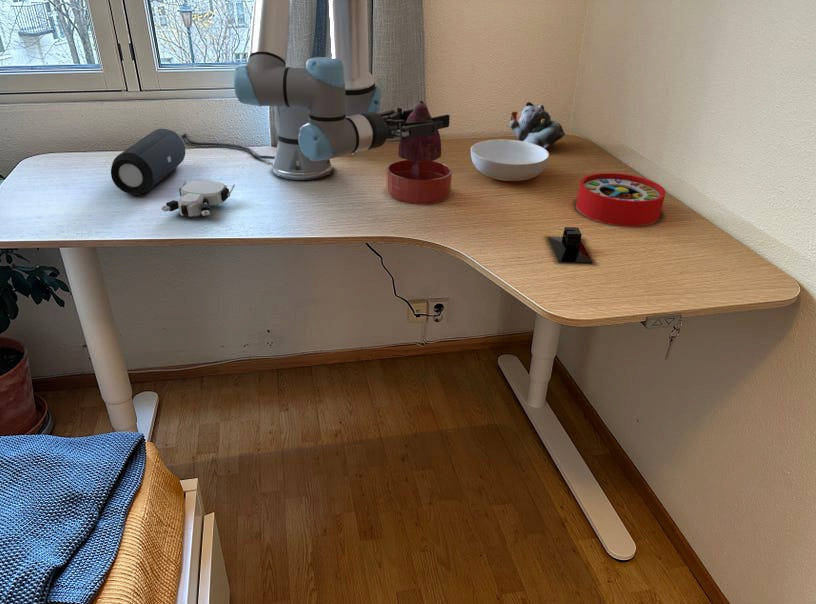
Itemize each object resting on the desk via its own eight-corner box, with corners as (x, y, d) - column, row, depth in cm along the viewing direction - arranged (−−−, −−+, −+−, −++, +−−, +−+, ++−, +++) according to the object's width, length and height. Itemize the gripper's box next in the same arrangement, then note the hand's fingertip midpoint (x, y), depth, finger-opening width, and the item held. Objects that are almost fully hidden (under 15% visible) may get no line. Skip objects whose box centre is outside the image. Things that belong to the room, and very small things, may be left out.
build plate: (547, 238, 145) (551, 218, 142) (580, 239, 145) (584, 219, 142) (558, 262, 135) (562, 241, 132) (593, 263, 135) (598, 242, 132)
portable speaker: (153, 199, 155) (144, 157, 149) (112, 196, 155) (102, 154, 149) (191, 165, 176) (185, 127, 170) (155, 163, 176) (147, 124, 170)
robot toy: (211, 227, 145) (238, 198, 156) (208, 208, 142) (235, 180, 153) (160, 221, 146) (190, 193, 158) (155, 202, 143) (186, 175, 155)
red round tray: (373, 190, 165) (373, 167, 161) (418, 177, 174) (419, 155, 171) (417, 209, 156) (419, 185, 152) (463, 194, 165) (465, 171, 162)
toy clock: (678, 186, 158) (644, 208, 145) (672, 210, 162) (638, 233, 149) (603, 167, 169) (565, 186, 156) (598, 189, 172) (561, 209, 159)
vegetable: (434, 176, 157) (443, 118, 146) (393, 166, 158) (398, 108, 146) (443, 153, 164) (453, 96, 152) (403, 144, 165) (410, 86, 153)
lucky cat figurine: (534, 155, 194) (518, 109, 189) (513, 160, 205) (496, 117, 200) (573, 135, 198) (557, 89, 193) (549, 140, 209) (534, 97, 204)
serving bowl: (458, 181, 173) (460, 155, 169) (482, 159, 189) (484, 135, 185) (535, 194, 167) (539, 167, 163) (553, 170, 183) (557, 146, 179)
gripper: (334, 139, 152) (405, 124, 166) (394, 160, 140) (465, 142, 154) (333, 105, 148) (406, 92, 162) (395, 124, 136) (468, 109, 150)
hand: (435, 117), depth 158 cm, fingers closed on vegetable, 8 cm apart
